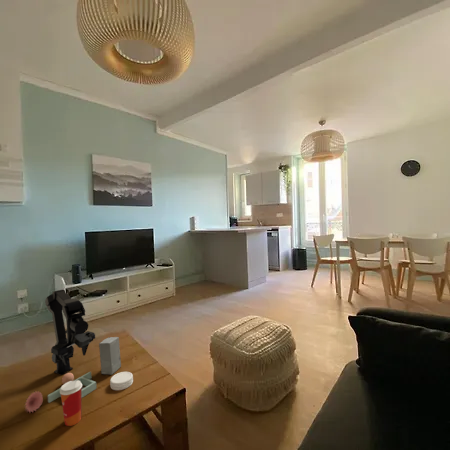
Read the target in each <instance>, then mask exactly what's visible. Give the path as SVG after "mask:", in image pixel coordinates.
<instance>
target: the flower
mask: <svg viewBox="0 0 450 450" xmlns="http://www.w3.org/2000/svg"><path fill="white" fill-rule="evenodd" d="M27 397H28V398H26V399H25V400H26V402H24V404H25V405H24V408H25V409H24V411H26V413H28V412H29V414H31V412H32V414H33V413H34V411H35V412H37V410H38V409H40V407H41V405H42V404H43V401H44V399H43V397H44V396H43V393H41V391H38V390H37V391H33V392H30V395H28V396H27Z"/></svg>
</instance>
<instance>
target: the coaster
mask: <svg viewBox="0 0 450 450" xmlns="http://www.w3.org/2000/svg"><path fill="white" fill-rule="evenodd" d="M133 383H134V374H133V373H132V372H130V371H121V372H118V373H116V374H115V373H114V375H112V376H111V378H110V380H109V384H110V389H112V390H113V391H122V390H125V389H127V388H130V387H131V386H132V384H133Z"/></svg>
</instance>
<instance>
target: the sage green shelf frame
mask: <svg viewBox="0 0 450 450" xmlns="http://www.w3.org/2000/svg"><path fill="white" fill-rule="evenodd" d="M75 380H76V381H77V380H79V381H80V382H81V383H82V386H85V387H82V388H83V389H82V390H81V399H82V398H85V396H88V395H89V394H90V393H92V392H93V391H95V390H96V389H97V381H94V380H92V371H89V372H87V373H85V374H83V375H81V376H79V377H78V378H76V379H74V380H73V381H75ZM60 390H61V387H60V388H58V389H57V390H54V391H53V392H51V393H49V394H47V403H51V402H53V401H55V400H56V399H58V398H61V394H60Z"/></svg>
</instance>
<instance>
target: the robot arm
mask: <svg viewBox="0 0 450 450" xmlns="http://www.w3.org/2000/svg"><path fill="white" fill-rule="evenodd" d="M44 301H45V306H46V308H47V310H48V312H50V314H51V315H52V321H53V329H54V334H55V339H56V342H55V344H54V345H53V346H52V347H51V350H50V351H51V352H50V353H51V354H52V355H51V361H52V362H53V363H54V364H55V365H56V369H55V370H54V371H53V373H55V374H57V375H60V376H61V375H65V374H67V373H69V372H70V371H72V370H73V368H74V367H72V366H71V363H70V359H71V358H73V357H74V351H75V347H74V345H76V346H77V348H80V349H81V352H82V356H86V354H87V351H88V348H89V345H90V344H91V343H92V342H93V341H94V340H95V339H96V333H95V332H93V331H89V330H88V329H89V323H88V321H86V320H84V317H85V316H86V313H85V312H86V308H85V307H84V304H83V302H82V301H80V300H79V299H77V298H72V297H71V296H70V295H69V294H68V293H67V292H66V290H65V289H58V290H55V291H53V292H52V293H51V294H50V295H48V296H47V297H46V298H45V300H44ZM64 317H65V320H66V321H65V320H64ZM65 322H66V323H65ZM65 325H66V327H65Z"/></svg>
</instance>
